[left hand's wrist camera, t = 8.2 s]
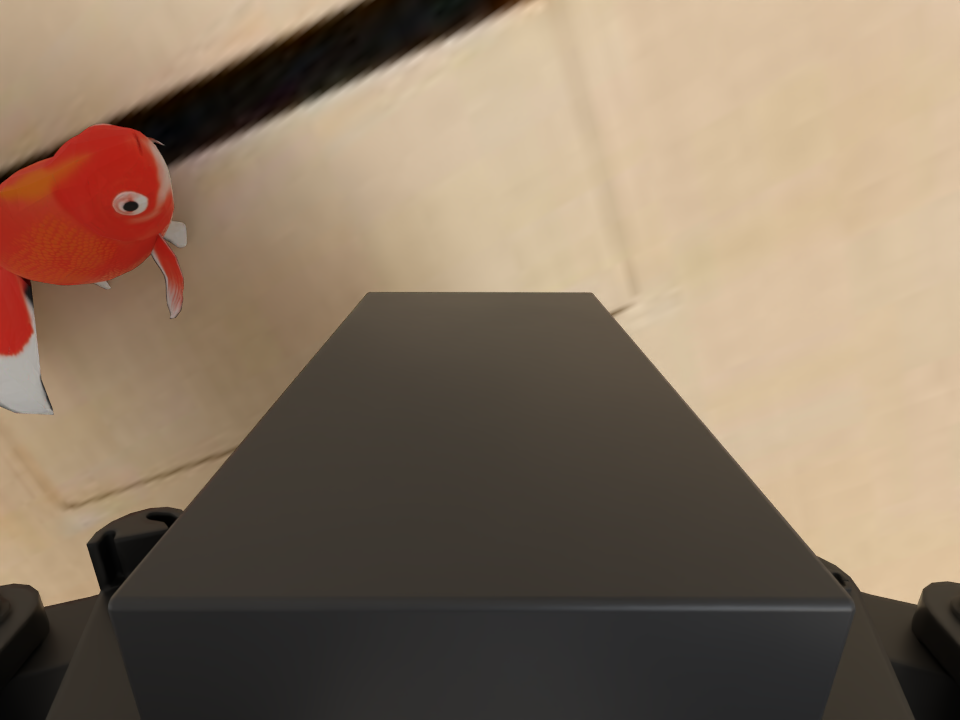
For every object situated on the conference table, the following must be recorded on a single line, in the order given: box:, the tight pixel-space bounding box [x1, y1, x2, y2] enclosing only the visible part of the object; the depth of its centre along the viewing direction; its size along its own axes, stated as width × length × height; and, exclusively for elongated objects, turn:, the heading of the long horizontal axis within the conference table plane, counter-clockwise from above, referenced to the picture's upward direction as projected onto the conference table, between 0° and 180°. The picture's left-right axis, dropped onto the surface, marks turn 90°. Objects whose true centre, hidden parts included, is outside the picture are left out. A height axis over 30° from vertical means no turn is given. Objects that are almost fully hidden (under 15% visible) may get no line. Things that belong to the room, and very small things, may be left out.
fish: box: [0, 123, 187, 415], centre depth 21 cm, size 11×16×10 cm
